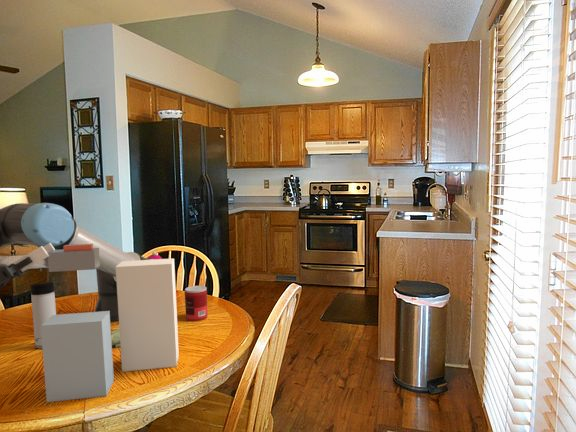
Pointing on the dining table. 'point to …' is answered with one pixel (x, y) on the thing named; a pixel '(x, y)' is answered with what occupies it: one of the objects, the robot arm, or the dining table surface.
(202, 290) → the canned food
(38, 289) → the travel mug
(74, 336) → the low stand
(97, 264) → the grey piece
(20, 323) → the dining table surface
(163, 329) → the tall stand
